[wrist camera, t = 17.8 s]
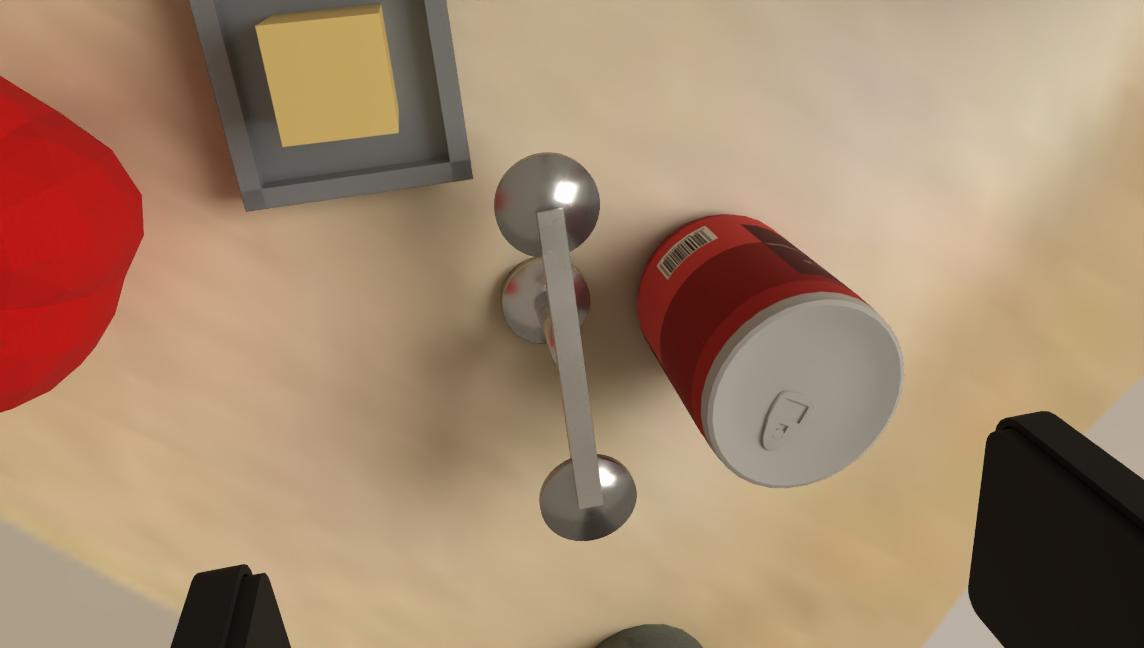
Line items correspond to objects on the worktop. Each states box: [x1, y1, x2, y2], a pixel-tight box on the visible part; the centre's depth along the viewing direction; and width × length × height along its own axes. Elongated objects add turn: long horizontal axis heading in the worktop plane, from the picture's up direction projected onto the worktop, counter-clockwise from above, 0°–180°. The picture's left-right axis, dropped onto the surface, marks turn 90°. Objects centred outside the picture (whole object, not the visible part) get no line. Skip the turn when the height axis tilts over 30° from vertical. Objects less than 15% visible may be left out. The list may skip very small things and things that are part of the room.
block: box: [255, 4, 399, 147], centre depth 31 cm, size 4×4×4 cm
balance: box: [494, 153, 637, 541], centre depth 36 cm, size 16×4×8 cm, turn 6°
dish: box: [189, 0, 473, 212], centre depth 34 cm, size 9×9×2 cm
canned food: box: [638, 215, 904, 488], centre depth 37 cm, size 8×8×11 cm
